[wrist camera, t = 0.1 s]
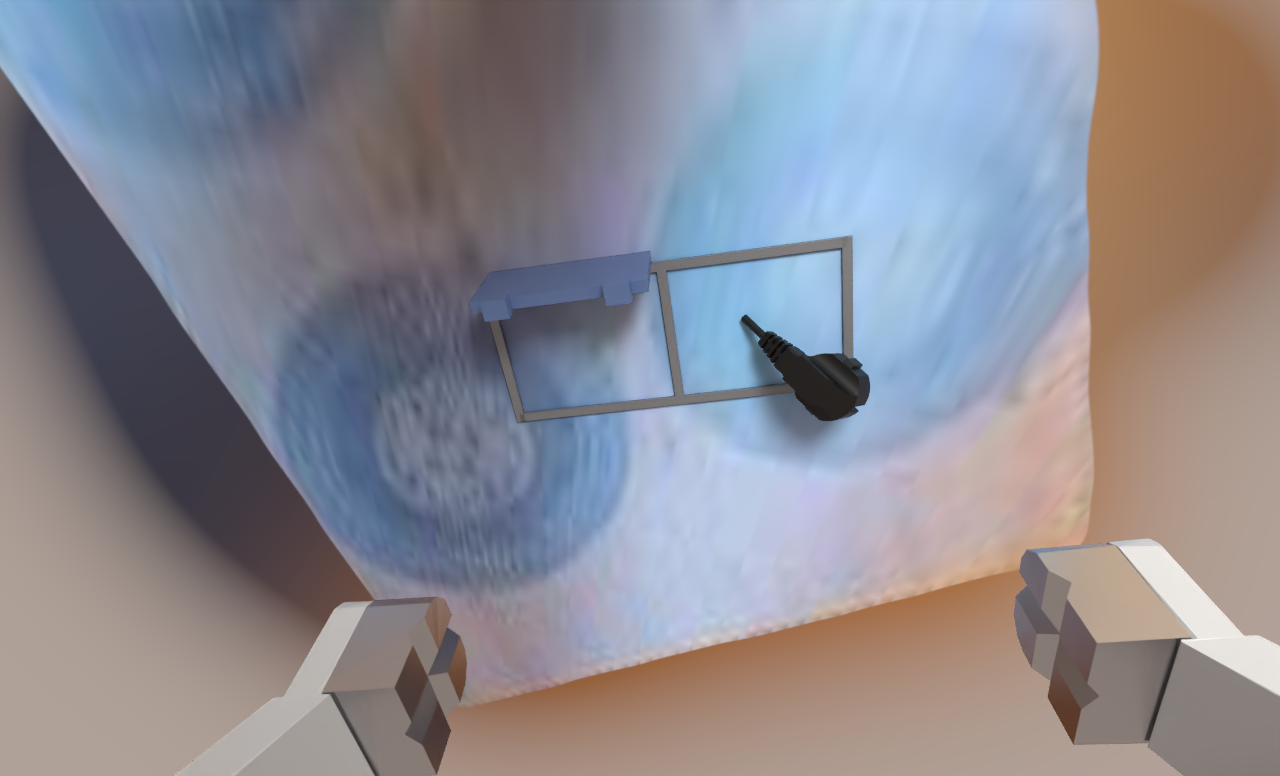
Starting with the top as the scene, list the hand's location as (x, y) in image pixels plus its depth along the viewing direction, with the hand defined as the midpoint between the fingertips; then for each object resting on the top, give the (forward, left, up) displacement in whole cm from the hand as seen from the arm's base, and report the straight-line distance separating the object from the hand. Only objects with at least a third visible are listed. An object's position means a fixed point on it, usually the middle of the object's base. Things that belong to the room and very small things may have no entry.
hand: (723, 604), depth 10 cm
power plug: (+18, +5, -51) cm, 54 cm away
